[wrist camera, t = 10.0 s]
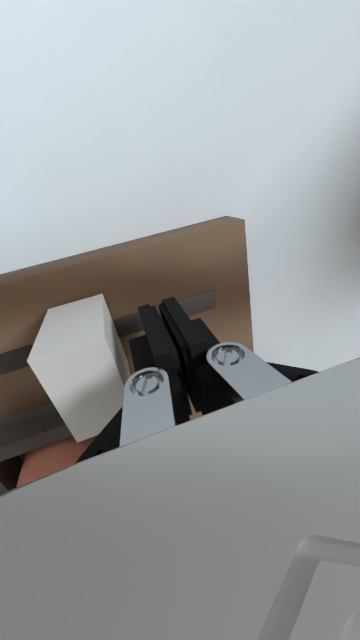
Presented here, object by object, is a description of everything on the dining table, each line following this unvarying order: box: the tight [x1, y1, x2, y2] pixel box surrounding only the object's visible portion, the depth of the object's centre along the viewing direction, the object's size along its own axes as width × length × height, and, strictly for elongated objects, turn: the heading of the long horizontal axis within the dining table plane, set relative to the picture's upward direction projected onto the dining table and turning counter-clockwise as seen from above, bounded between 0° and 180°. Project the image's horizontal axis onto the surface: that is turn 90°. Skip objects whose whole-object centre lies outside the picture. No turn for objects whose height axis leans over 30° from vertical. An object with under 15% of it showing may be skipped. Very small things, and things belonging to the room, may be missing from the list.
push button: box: [16, 435, 98, 488], centre depth 14 cm, size 5×5×2 cm
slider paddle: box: [27, 294, 130, 442], centre depth 11 cm, size 4×2×4 cm, turn 11°
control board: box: [0, 216, 254, 495], centre depth 15 cm, size 18×18×4 cm
